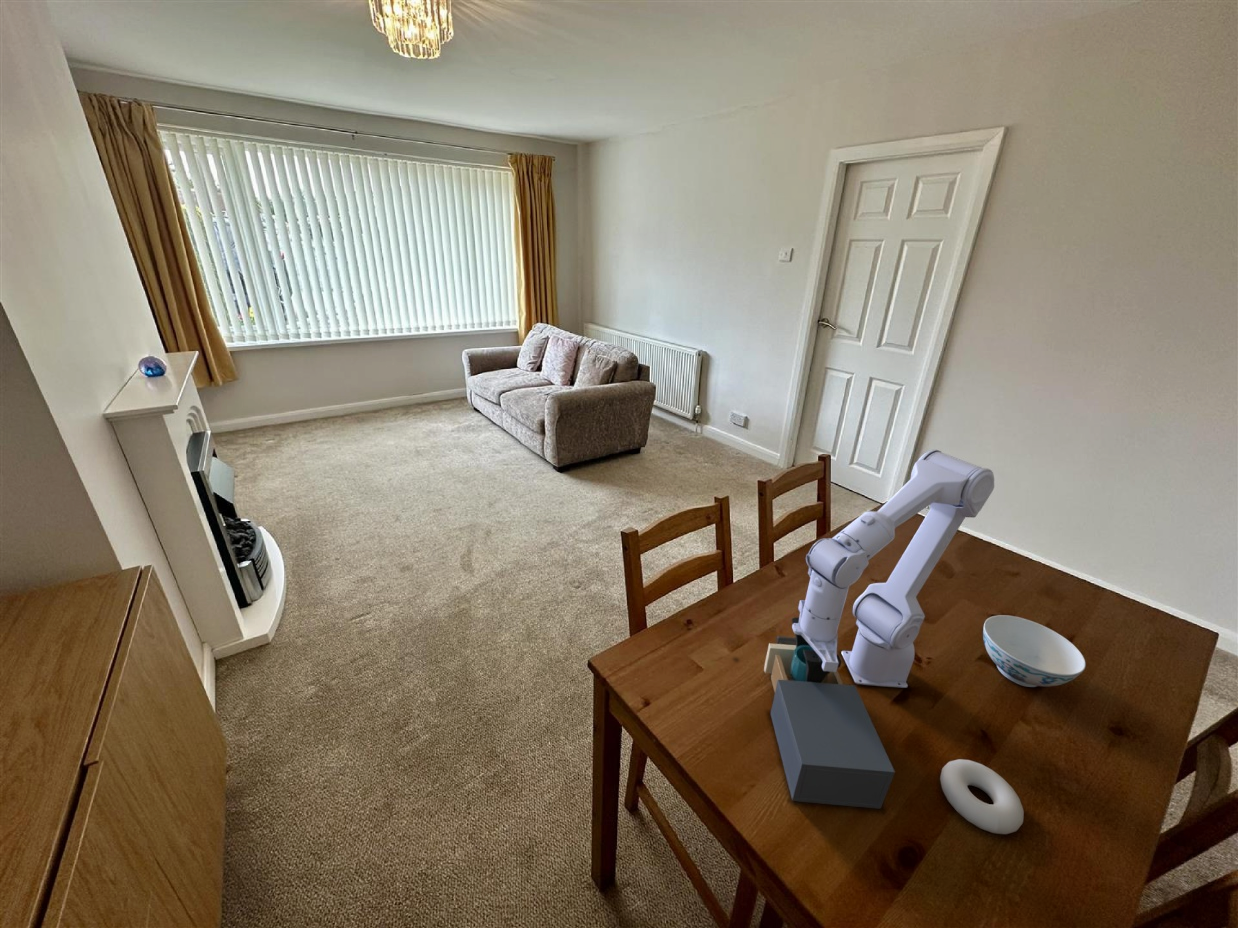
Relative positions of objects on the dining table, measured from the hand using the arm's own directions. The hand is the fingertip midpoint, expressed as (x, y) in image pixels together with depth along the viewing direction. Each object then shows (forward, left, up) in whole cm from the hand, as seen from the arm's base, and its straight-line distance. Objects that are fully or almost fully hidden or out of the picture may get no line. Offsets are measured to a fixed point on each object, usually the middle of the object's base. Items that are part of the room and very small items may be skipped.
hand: (807, 669), depth 84 cm
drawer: (0, 0, -6) cm, 6 cm away
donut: (-21, +16, -7) cm, 27 cm away
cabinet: (0, +11, -7) cm, 13 cm away
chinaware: (-44, -10, -7) cm, 46 cm away
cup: (0, 0, -1) cm, 1 cm away
